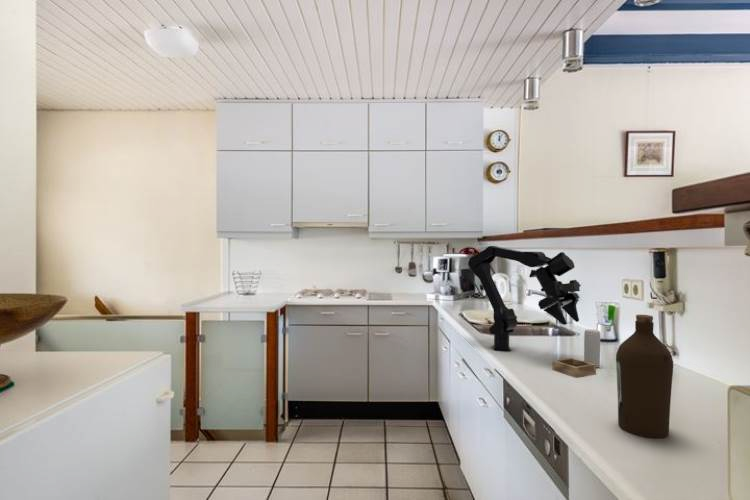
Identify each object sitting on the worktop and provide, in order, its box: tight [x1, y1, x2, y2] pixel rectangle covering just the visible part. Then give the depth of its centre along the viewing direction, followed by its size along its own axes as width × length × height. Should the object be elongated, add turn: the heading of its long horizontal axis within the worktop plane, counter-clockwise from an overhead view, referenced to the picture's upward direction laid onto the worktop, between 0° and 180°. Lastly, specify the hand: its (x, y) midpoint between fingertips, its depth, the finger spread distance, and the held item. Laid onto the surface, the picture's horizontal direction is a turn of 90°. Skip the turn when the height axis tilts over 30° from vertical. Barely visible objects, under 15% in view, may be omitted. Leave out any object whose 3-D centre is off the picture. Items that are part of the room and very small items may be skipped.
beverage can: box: [583, 329, 601, 369], centre depth 142 cm, size 5×5×12 cm
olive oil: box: [615, 314, 674, 439], centre depth 93 cm, size 11×11×25 cm
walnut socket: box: [551, 357, 597, 378], centre depth 136 cm, size 9×9×3 cm
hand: (571, 322), depth 144 cm, fingers open, 9 cm apart
